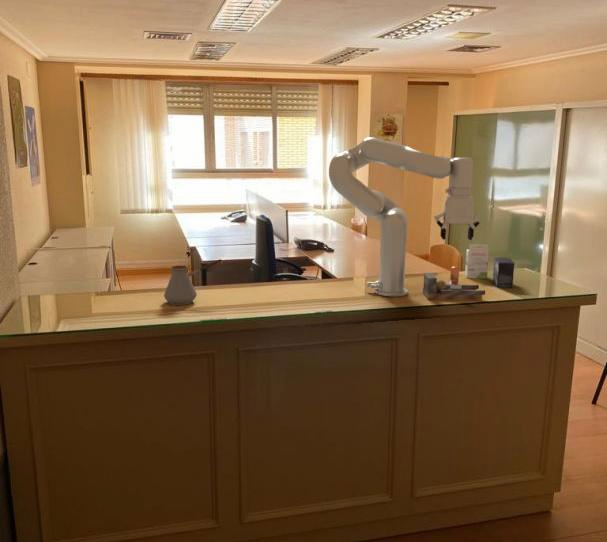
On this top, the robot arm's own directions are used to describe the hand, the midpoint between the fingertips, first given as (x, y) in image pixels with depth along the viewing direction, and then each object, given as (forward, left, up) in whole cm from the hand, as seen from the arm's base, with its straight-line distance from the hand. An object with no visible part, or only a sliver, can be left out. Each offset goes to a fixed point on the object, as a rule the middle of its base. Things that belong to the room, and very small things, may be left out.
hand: (456, 239), depth 218 cm
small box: (+25, +18, -22) cm, 38 cm away
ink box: (+18, +31, -22) cm, 42 cm away
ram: (0, 0, -20) cm, 20 cm away
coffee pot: (-95, -8, -22) cm, 98 cm away
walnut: (-5, 0, -20) cm, 21 cm away
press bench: (0, 0, -22) cm, 22 cm away
